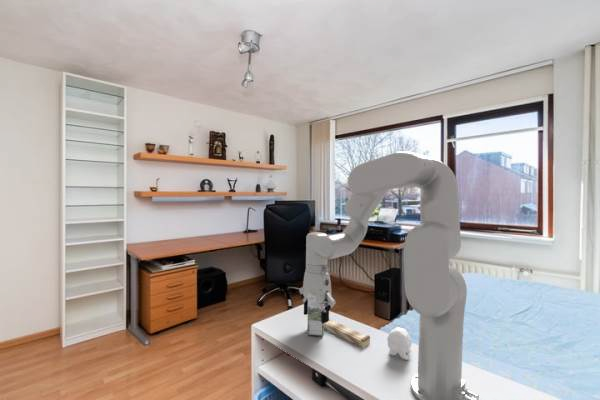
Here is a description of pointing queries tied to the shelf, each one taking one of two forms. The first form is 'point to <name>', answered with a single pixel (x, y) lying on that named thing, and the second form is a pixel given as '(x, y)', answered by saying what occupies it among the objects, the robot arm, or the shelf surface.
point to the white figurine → (399, 342)
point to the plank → (347, 333)
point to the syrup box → (314, 316)
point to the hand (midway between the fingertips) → (316, 317)
